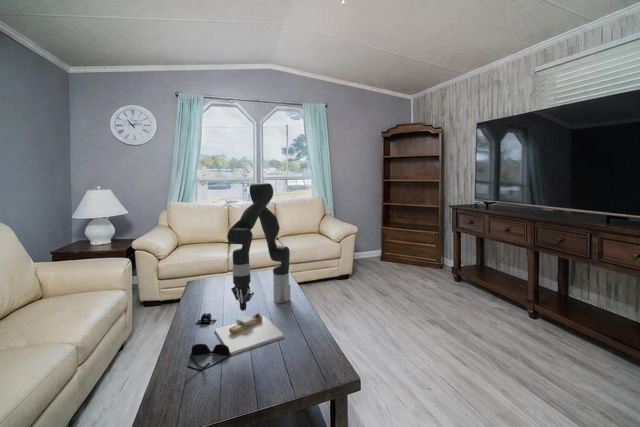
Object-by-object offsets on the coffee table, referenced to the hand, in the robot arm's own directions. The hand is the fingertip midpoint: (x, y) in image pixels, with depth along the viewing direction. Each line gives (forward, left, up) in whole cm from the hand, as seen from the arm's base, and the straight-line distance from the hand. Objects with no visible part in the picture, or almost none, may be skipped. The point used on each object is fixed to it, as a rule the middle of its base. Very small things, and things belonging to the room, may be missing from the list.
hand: (243, 309), depth 134 cm
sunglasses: (+19, +9, -15) cm, 26 cm away
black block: (+10, -27, -15) cm, 32 cm away
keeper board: (-3, -3, -14) cm, 15 cm away
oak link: (-4, -8, -12) cm, 16 cm away
